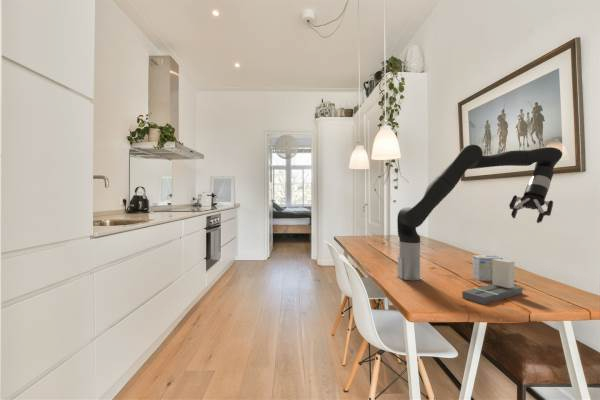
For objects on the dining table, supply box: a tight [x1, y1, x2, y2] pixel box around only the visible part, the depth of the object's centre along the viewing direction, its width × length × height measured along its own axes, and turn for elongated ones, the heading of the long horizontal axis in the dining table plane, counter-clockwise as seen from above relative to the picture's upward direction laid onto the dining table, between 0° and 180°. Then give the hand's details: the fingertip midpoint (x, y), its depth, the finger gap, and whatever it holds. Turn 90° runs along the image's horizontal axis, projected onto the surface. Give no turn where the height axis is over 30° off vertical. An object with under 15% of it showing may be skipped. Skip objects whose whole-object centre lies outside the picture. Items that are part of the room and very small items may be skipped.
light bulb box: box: [472, 254, 504, 282], centre depth 138 cm, size 11×7×11 cm, turn 84°
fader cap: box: [491, 258, 515, 288], centre depth 118 cm, size 4×6×10 cm, turn 28°
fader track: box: [461, 283, 523, 305], centre depth 115 cm, size 26×9×3 cm, turn 118°
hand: (525, 219), depth 125 cm, fingers open, 8 cm apart
